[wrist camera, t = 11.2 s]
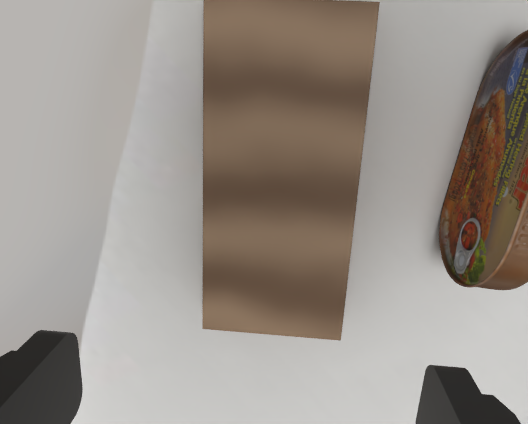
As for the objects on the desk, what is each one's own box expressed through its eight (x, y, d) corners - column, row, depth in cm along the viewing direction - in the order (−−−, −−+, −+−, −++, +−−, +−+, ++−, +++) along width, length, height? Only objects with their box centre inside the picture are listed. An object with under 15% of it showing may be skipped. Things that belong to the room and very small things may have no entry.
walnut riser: (213, 4, 27) (203, -5, 25) (370, 10, 27) (379, 2, 24) (210, 307, 34) (202, 328, 31) (336, 318, 33) (340, 340, 30)
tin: (494, 34, 27) (579, 14, 19) (544, 43, 27) (651, 27, 19) (427, 252, 31) (471, 312, 23) (469, 260, 31) (529, 322, 23)
